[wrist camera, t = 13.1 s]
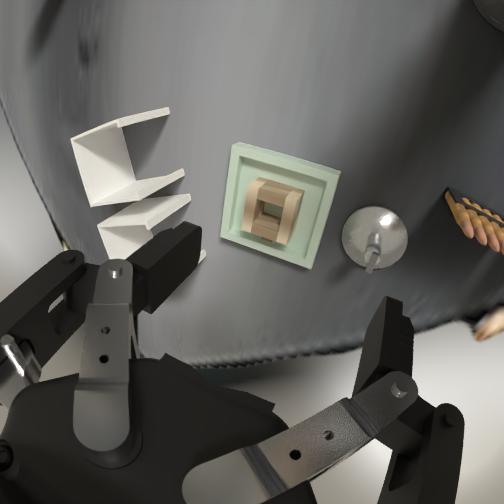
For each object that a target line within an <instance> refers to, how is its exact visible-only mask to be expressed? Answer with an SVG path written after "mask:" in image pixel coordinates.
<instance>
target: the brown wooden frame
mask: <svg viewBox="0 0 504 504" xmlns="http://www.w3.org/2000/svg"><path fill="white" fill-rule="evenodd" d="M304 192H305V190H302V189H299V188H296V187H293V186H289V185H286V184H283V183H279V182H276V181H273V180H269V179H266V178H263V177H258V178H257V179H256V180H255V181H253V182H252V183H251V184H249V185H248V189H247V195H246V201H245V208H244V214H243V220H242V227H241V230H244V231H247V232H250V233H253V234H256V235H258V236H261V239H263V240H266V241H269V242H272V241H276V242H279V243H281V244H284V245H287V243H288V242H289V240H290V238H291V237H292V235H293V234H294V232H295V228H296V224H297V220H298V216H299V212H300V208H301V204H302V200H303V196H304ZM265 202H268V203H272V204H275V205H278V206H281V207H284V209H283V213H282V218H279V217H276V216H273V215H270V214H267V213H264V212H263V210H264V204H265Z"/></svg>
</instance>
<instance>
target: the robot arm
mask: <svg viewBox="0 0 504 504" xmlns="http://www.w3.org/2000/svg"><path fill="white" fill-rule="evenodd" d="M472 1H473V2H474V4H475V6H476V8H477V9H478V11H479V12H480V14H481V15H482V16H483V17H484V18H485V19H486V20H487V21H488V22H489V23H490V24H491V25H493V26H494V27H496V28H497V29H499V30H501V31H503V32H504V0H472ZM201 238H202V228H201V227H200V226H197V225H194V224H192V223H189V222H186V221H184V222H182V223H181V224H180V225H179V226H177V227H176V228H175V229H172V228H170V229H167V230H164V231H161V232H159V233H158V234H157V235H156V236H154V237H153V238H152V239H150V240H149V241H148V242H146V244H144V245H143V246H141V247H140V248H139V249H137V250H136V251H135V252H134V253H132V254H131V255H130V256H129V257H127V258H126V259H125V260H124V259H111V260H108V261H106V262H104V263H103V264H101V266H100V265H94V264H89V263H85V258H84V255H83V253H82V252H80V251H78V250H67V251H64V252H61V253H60V254H58V255H57V256H56V257H54V258H53V259H52V260H50V261H49V262H48V263H47V264H46V265H44V266H43V267H42V268H40V269H39V270H38V271H37V272H36V273H34V274H33V275H32V276H31V277H30V278H28V279H27V280H26V281H25V282H24V283H22V284H21V285H20V286H19V287H18V288H17V289H15V290H14V291H13V292H12V293H11V294H10V295H8V296H7V297H6V298H5V299H4V300H3V301H2V302H1V303H0V405H2V406H4V407H5V408H6V409H8V411H9V413H8V417H7V420H6V424H5V426H4V429H3V431H2V433H1V435H0V504H317V501H316V498H315V495H314V493H313V490H312V487H311V484H310V483H311V482H312V481H314V480H315V479H317V478H319V477H320V476H322V475H323V474H325V473H327V472H328V471H329V470H331V469H332V468H334V467H335V466H337V465H338V464H340V463H341V462H342V461H344V460H345V459H347V458H348V457H350V456H351V455H353V454H354V453H355V452H357V451H358V450H360V449H361V448H362V447H364V446H365V445H366V444H368V443H369V442H370V441H371V440H373V439H374V438H375V439H377V440H378V441H380V442H381V443H383V444H384V445H386V446H387V447H389V448H390V449H392V450H393V451H392V455H391V459H390V463H389V466H388V470H387V474H386V477H385V480H384V484H383V487H382V490H381V493H380V496H379V500H378V503H377V504H455V499H456V493H457V488H458V481H459V475H460V467H461V459H462V450H463V438H464V425H465V424H464V418H463V415H462V414H461V412H460V410H459V409H458V408H457V407H455V406H454V405H452V404H449V403H444V404H440V405H439V406H438V407H437V408H435V407H434V406H432V405H430V404H429V403H428V402H426V401H425V400H423V399H422V398H421V397H420V396H419V395H418V387H417V385H416V383H415V381H414V380H413V379H412V366H413V343H414V341H413V339H414V328H413V325H412V323H411V320H410V318H408V317H405V316H403V315H402V310H403V303H402V301H399V300H396V299H394V298H391V297H388V296H385V297H384V298H383V300H382V302H381V304H380V305H379V307H378V309H377V311H376V313H375V315H374V316H373V318H372V320H371V322H370V324H369V326H368V328H367V331H366V334H365V339H364V344H363V349H362V354H361V359H360V363H359V368H358V373H357V377H356V381H355V385H354V390H353V394H352V398H351V399H348V398H347V397H346V398H343V399H341V400H339V401H338V402H336V403H334V404H333V405H331V406H329V407H328V408H326V409H324V410H322V411H321V412H319V413H317V414H315V415H313V416H312V417H310V418H308V419H306V420H304V421H302V422H301V423H299V424H297V425H295V426H293V427H291V428H289V427H288V426H287V425H286V423H285V422H284V421H283V420H282V419H281V418H280V417H278V416H277V415H276V414H275V413H273V412H272V410H273V408H274V406H275V404H274V403H271V402H269V401H267V400H264V399H262V398H259V397H257V396H255V395H252V394H250V393H248V392H244V391H238V390H234V389H229V388H224V387H219V386H216V385H213V384H212V383H211V382H209V381H208V380H207V379H206V378H204V377H203V376H202V375H201V374H199V373H198V372H197V371H196V370H195V369H194V368H192V367H191V366H190V365H188V364H186V363H184V362H182V361H180V360H178V359H176V358H174V357H172V356H170V355H168V354H166V353H165V354H164V356H163V357H162V358H161V359H160V360H158V359H153V358H140V354H139V317H138V314H139V313H140V312H141V311H142V310H144V311H146V312H148V313H150V314H152V313H153V312H154V311H155V310H156V309H157V308H158V307H159V306H160V305H161V304H162V303H163V302H164V301H165V300H166V299H167V298H168V297H169V296H170V294H171V293H172V292H173V291H174V290H175V289H176V288H177V287H178V286H179V285H180V284H181V283H182V282H183V281H184V280H185V279H186V278H187V277H188V276H189V275H190V274H191V273H192V272H193V271H194V269H195V268H196V267H197V265H198V262H199V259H200V252H201ZM61 294H63V298H64V299H63V300H62V301H61V302H60V303H59V304H58V305H57V306H55V307H54V308H53V309H52V310H51V311H50V312H49V313H48V310H49V307H50V305H51V304H52V303H53V302H54V301H55V300H56V299H57V298H58V297H59V296H60V295H61ZM84 322H85V325H84V333H83V342H82V350H81V360H80V370H79V373H76V374H72V375H68V376H64V377H60V378H55V379H51V380H47V381H42V382H39V379H40V376H41V369H42V367H43V366H44V365H45V364H46V363H47V362H48V361H49V360H50V358H51V357H52V356H53V355H54V354H55V353H56V352H57V351H58V350H59V349H60V347H61V346H62V345H63V344H64V343H65V342H66V341H67V340H68V339H69V338H70V337H71V335H73V333H74V332H75V331H76V330H77V329H78V328H79V327H80V326H81V325H82V324H83V323H84Z"/></svg>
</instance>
